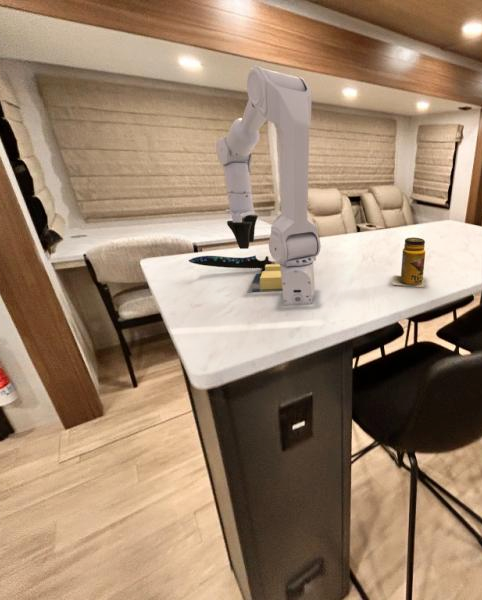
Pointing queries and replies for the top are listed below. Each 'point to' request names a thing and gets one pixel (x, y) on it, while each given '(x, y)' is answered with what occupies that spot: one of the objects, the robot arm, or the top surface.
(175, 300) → the top surface
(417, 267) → the condiment
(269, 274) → the yellow rectangular block
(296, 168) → the robot arm
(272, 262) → the knife
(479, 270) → the top surface
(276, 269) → the butter pat
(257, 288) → the butter dish
